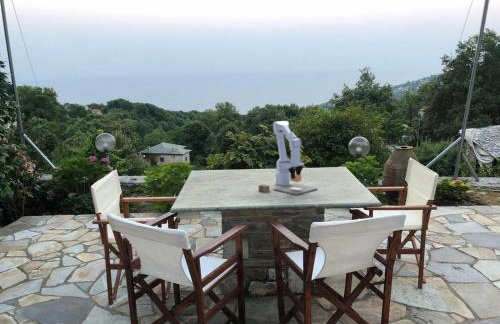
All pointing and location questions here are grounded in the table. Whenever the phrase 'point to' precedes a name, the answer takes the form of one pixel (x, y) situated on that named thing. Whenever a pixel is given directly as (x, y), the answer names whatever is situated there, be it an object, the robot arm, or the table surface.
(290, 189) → the tower board
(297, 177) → the brick terracotta
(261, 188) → the brick walnut
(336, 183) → the table surface
